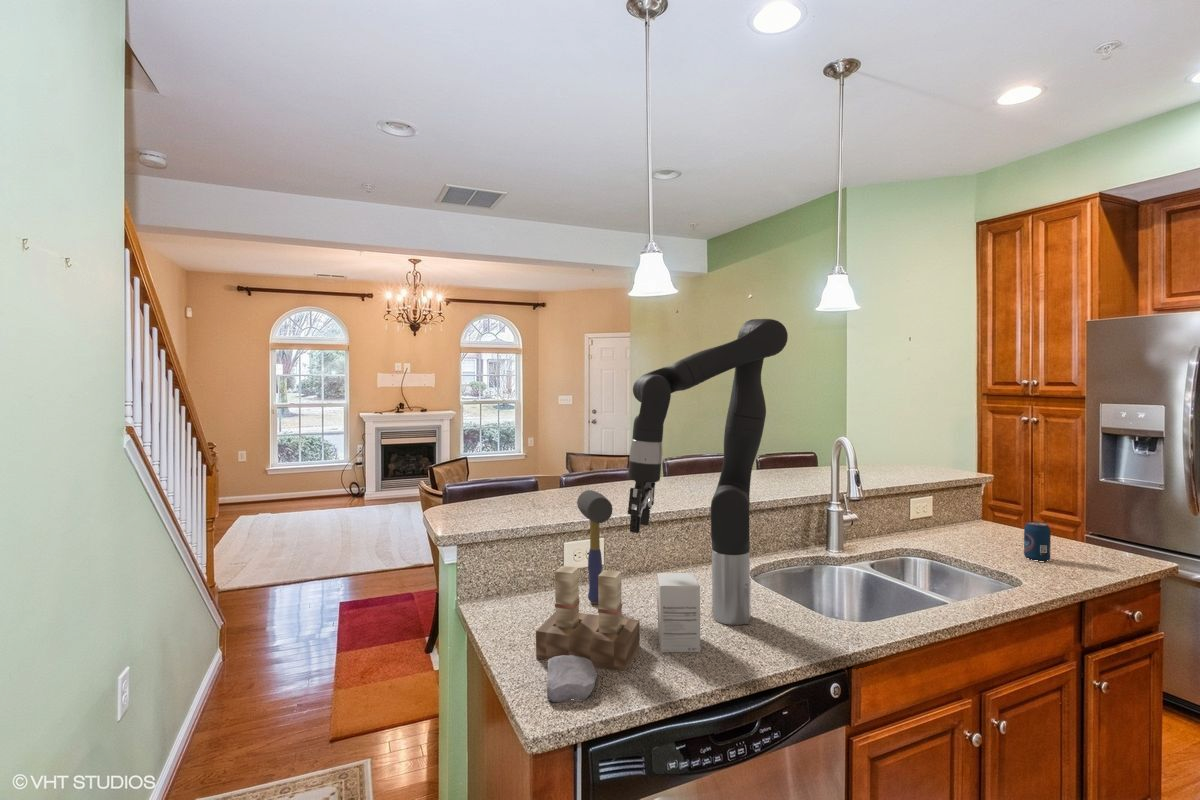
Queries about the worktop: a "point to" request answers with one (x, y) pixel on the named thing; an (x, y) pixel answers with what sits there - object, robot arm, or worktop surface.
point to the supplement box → (678, 612)
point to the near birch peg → (610, 602)
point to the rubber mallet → (594, 534)
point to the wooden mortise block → (589, 642)
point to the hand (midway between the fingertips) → (639, 528)
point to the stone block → (570, 678)
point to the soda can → (1037, 541)
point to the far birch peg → (567, 597)
